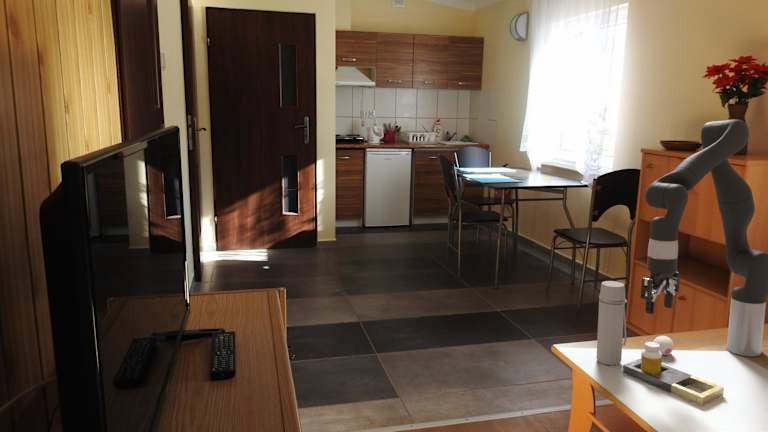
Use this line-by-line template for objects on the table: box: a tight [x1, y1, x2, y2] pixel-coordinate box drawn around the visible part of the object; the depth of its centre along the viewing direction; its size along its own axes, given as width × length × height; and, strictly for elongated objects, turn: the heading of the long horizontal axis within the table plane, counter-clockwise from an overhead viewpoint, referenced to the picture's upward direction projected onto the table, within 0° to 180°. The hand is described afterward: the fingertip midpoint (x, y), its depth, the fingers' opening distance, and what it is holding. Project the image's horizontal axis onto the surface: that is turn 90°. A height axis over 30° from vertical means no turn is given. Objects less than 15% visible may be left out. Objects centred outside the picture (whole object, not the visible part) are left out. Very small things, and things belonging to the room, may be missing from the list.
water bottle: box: [596, 280, 628, 366], centre depth 172 cm, size 9×8×25 cm
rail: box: [622, 358, 725, 407], centre depth 158 cm, size 10×24×2 cm, turn 31°
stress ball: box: [652, 335, 675, 356], centre depth 178 cm, size 8×8×7 cm
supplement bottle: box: [640, 341, 663, 375], centre depth 163 cm, size 5×5×10 cm
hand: (659, 310), depth 159 cm, fingers open, 8 cm apart
